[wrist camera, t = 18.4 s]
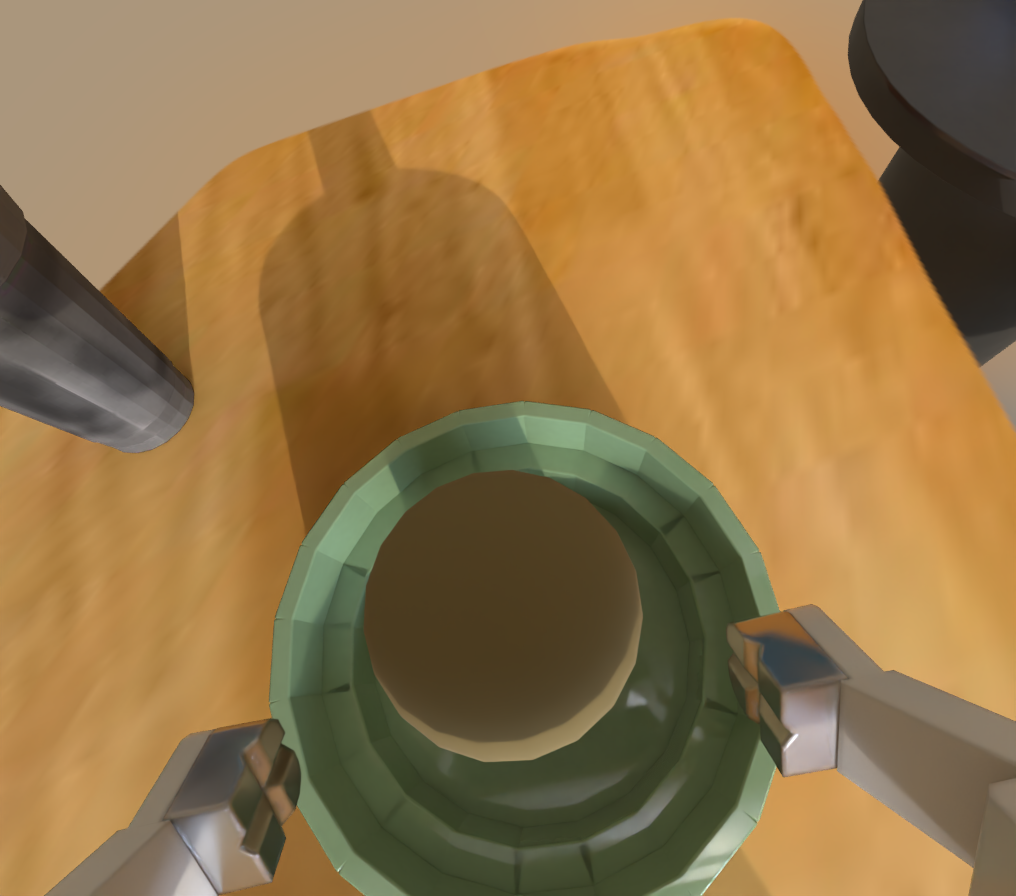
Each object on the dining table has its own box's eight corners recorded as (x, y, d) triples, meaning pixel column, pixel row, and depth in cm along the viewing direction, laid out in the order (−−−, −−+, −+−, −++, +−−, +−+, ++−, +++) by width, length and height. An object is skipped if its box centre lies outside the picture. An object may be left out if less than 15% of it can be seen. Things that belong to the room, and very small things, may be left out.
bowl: (603, 407, 22) (614, 339, 18) (820, 749, 17) (917, 777, 12) (297, 549, 21) (224, 515, 17) (417, 974, 15) (357, 1099, 11)
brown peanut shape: (651, 629, 18) (763, 572, 8) (538, 777, 17) (504, 933, 7) (522, 520, 20) (483, 366, 10) (411, 644, 19) (237, 607, 9)
